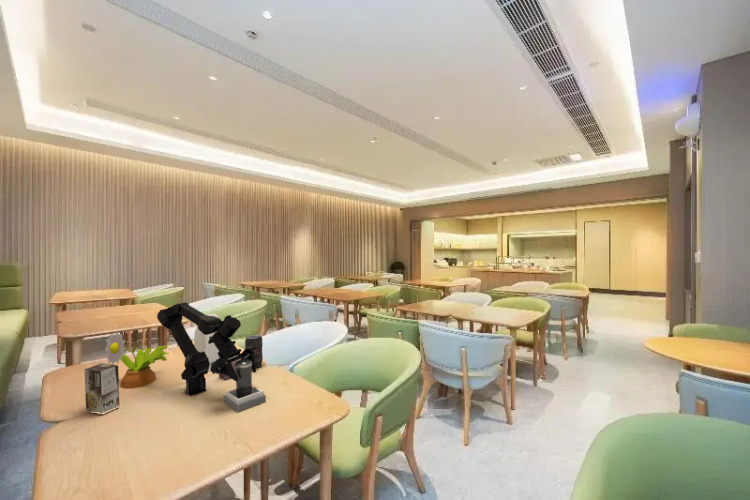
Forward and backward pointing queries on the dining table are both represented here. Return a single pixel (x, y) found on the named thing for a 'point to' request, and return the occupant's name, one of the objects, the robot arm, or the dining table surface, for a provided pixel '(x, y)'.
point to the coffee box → (101, 387)
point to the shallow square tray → (244, 399)
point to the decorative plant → (138, 370)
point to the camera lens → (257, 343)
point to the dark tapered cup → (243, 378)
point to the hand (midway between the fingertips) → (246, 376)
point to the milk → (206, 345)
